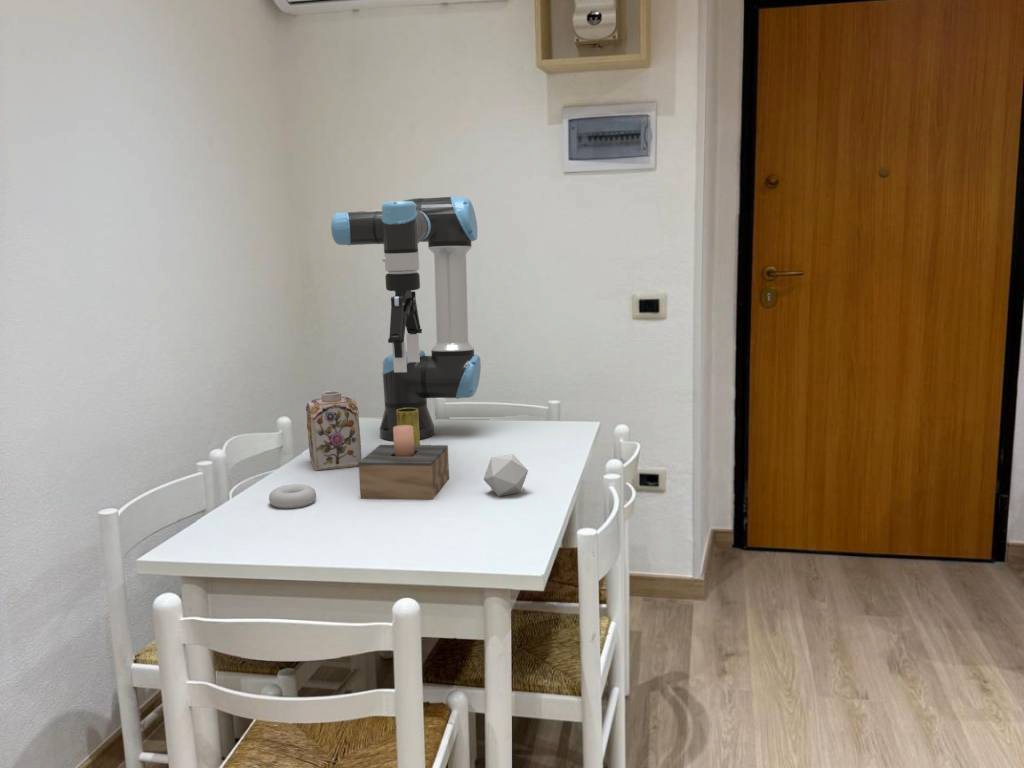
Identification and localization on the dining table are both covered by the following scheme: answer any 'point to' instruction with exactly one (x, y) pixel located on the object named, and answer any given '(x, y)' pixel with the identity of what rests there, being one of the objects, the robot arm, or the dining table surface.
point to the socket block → (404, 473)
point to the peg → (403, 440)
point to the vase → (409, 421)
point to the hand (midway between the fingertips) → (407, 367)
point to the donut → (292, 496)
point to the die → (505, 475)
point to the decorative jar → (333, 431)
